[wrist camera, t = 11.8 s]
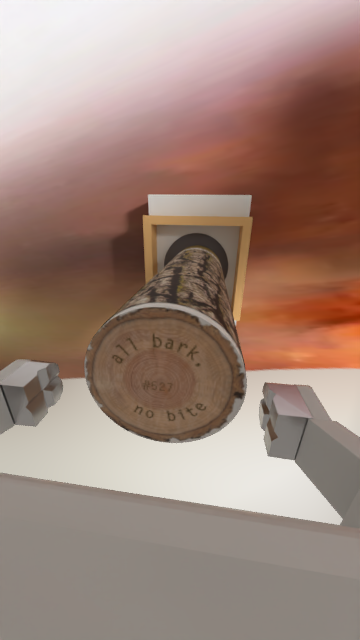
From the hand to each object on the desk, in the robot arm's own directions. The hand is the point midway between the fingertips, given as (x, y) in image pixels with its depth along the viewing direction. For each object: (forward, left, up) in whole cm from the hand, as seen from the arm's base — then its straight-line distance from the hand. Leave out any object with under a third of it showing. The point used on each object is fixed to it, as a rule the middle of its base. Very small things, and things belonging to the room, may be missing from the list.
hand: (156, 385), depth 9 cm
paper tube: (0, 0, -26) cm, 26 cm away
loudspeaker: (0, 0, -31) cm, 31 cm away
